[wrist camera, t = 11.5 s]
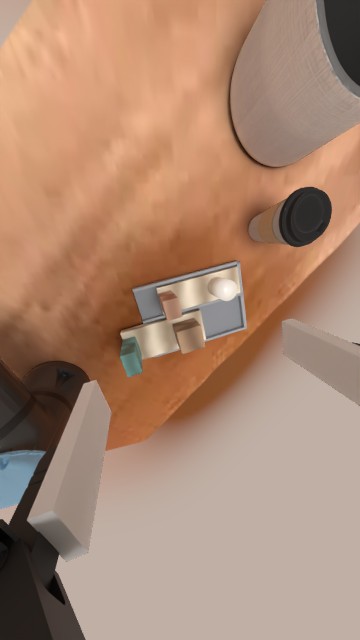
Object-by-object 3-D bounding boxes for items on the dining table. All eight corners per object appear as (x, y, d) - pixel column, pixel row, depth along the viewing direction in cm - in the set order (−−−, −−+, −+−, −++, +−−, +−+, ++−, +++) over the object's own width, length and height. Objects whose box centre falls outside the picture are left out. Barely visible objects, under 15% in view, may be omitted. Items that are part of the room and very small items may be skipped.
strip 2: (131, 359, 49) (130, 383, 39) (121, 330, 46) (116, 349, 37) (203, 336, 51) (218, 354, 42) (197, 308, 48) (212, 320, 39)
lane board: (153, 353, 51) (154, 357, 49) (132, 288, 44) (132, 289, 42) (243, 325, 54) (247, 328, 52) (235, 260, 47) (239, 260, 45)
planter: (235, 8, 33) (360, -307, 15) (337, 45, 38) (529, -157, 19) (220, 161, 40) (292, 79, 21) (308, 177, 45) (429, 121, 26)
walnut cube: (177, 343, 48) (182, 354, 43) (172, 323, 46) (176, 332, 41) (198, 337, 48) (205, 346, 43) (193, 317, 47) (200, 325, 41)
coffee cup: (270, 251, 49) (324, 249, 35) (237, 246, 46) (280, 242, 32) (281, 209, 46) (343, 189, 32) (245, 202, 44) (296, 177, 30)
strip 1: (162, 312, 47) (169, 326, 37) (155, 287, 44) (160, 295, 35) (236, 291, 49) (259, 299, 40) (233, 266, 47) (257, 268, 37)
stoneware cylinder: (209, 297, 46) (219, 303, 40) (206, 279, 44) (216, 283, 39) (226, 292, 46) (238, 297, 41) (223, 274, 45) (236, 277, 39)
